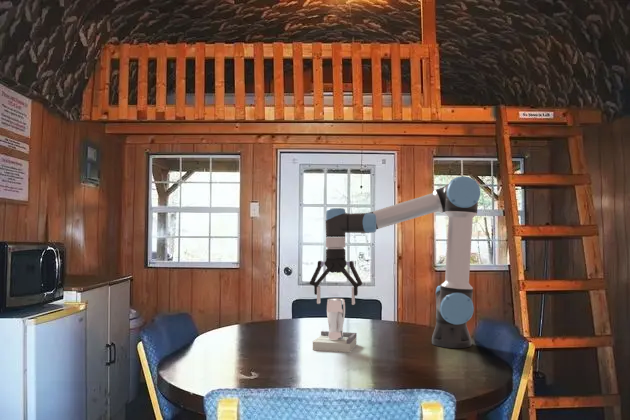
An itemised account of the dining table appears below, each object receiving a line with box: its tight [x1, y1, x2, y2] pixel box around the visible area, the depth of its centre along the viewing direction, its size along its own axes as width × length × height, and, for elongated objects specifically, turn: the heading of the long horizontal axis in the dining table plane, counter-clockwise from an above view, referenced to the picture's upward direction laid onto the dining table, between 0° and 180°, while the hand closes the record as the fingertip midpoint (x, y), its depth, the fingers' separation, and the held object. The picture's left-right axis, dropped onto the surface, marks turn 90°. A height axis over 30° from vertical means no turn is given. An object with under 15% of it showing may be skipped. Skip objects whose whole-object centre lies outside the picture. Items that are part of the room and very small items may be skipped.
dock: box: [312, 330, 357, 353], centre depth 197 cm, size 14×14×4 cm
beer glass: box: [326, 297, 346, 340], centre depth 198 cm, size 7×7×15 cm
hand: (335, 304), depth 198 cm, fingers open, 13 cm apart
